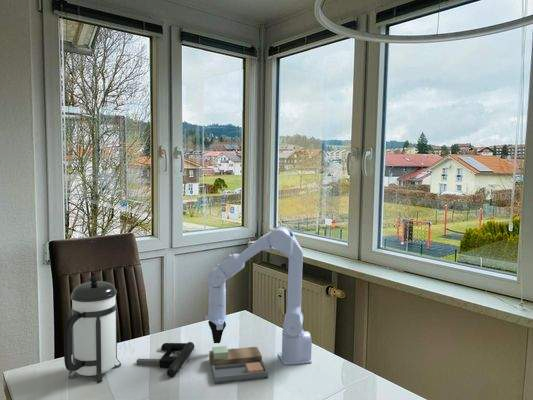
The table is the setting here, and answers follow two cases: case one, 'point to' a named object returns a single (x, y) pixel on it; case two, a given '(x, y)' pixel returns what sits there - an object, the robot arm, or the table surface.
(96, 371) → the coffee press
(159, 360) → the door handle
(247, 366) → the terracotta block
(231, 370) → the charcoal tray
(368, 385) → the table surface
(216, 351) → the sage tile
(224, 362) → the walnut ledge
